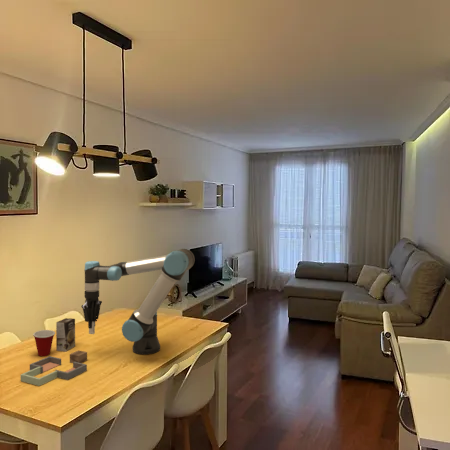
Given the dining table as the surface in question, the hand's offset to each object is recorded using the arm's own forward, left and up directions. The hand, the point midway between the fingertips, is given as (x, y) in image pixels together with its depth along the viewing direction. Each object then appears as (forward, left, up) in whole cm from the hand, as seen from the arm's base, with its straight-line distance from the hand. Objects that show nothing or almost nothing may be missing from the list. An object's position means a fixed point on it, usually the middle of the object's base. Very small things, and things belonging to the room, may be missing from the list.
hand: (91, 333), depth 213 cm
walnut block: (0, +10, -12) cm, 15 cm away
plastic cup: (+23, +11, -12) cm, 28 cm away
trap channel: (0, +28, -12) cm, 30 cm away
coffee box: (+20, -1, -12) cm, 23 cm away
